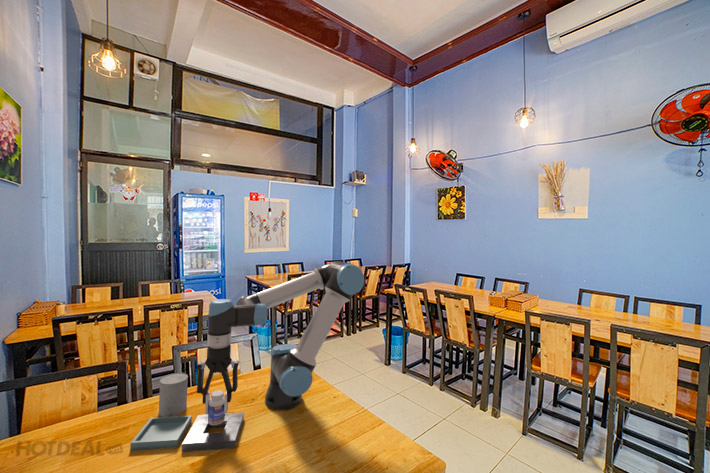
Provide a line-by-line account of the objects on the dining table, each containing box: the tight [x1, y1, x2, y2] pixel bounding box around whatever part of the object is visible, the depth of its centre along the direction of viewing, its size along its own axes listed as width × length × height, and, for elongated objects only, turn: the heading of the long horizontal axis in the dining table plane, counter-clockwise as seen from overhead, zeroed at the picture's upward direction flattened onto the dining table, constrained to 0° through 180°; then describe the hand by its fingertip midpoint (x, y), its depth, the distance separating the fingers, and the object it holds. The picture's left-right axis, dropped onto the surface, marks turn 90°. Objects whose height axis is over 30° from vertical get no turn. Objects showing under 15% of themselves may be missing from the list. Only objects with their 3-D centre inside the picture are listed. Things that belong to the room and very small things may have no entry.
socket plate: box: [181, 412, 245, 453], centre depth 107 cm, size 16×16×2 cm
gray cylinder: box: [158, 372, 189, 417], centre depth 121 cm, size 10×10×12 cm
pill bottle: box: [208, 390, 225, 425], centre depth 107 cm, size 5×5×10 cm
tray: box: [129, 415, 193, 452], centre depth 105 cm, size 14×14×2 cm
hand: (216, 411), depth 107 cm, fingers closed on pill bottle, 5 cm apart
